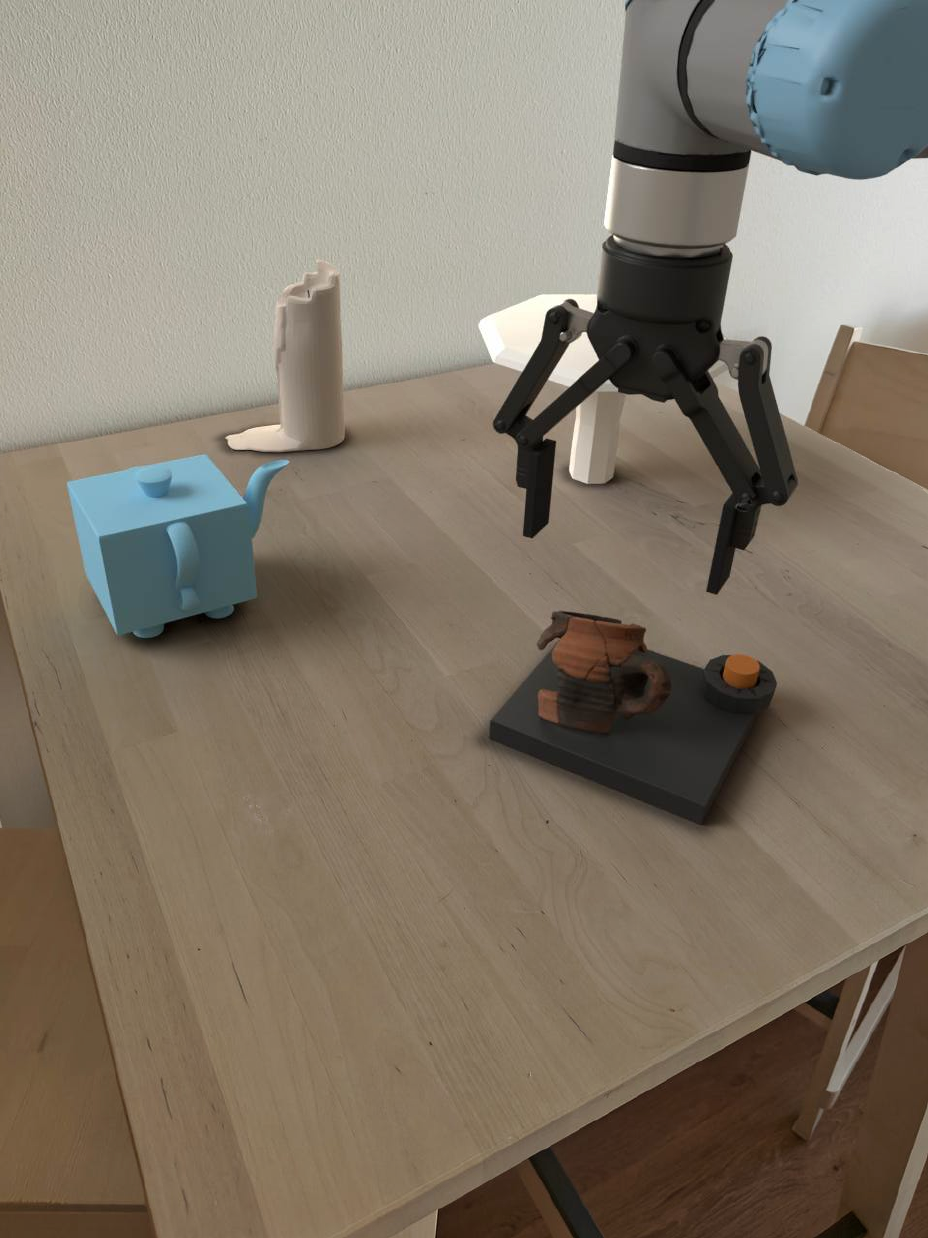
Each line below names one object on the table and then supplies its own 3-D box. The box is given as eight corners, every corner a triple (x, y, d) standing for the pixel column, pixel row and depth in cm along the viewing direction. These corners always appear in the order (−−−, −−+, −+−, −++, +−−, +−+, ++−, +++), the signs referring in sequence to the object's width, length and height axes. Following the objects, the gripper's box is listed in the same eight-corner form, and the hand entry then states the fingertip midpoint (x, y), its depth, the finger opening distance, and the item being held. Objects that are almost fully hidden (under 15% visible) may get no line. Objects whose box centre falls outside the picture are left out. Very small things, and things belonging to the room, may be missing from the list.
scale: (774, 702, 82) (784, 669, 80) (711, 829, 71) (720, 793, 69) (576, 633, 89) (580, 601, 87) (488, 738, 77) (491, 703, 75)
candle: (223, 430, 120) (205, 259, 109) (339, 421, 124) (333, 254, 112) (228, 457, 115) (210, 279, 103) (349, 447, 118) (344, 273, 106)
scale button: (760, 676, 80) (764, 660, 79) (750, 694, 78) (754, 678, 77) (728, 665, 81) (732, 650, 80) (718, 682, 79) (721, 667, 78)
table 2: (707, 556, 101) (739, 399, 91) (438, 511, 106) (442, 358, 97) (722, 441, 123) (750, 305, 114) (499, 409, 128) (508, 276, 119)
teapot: (129, 668, 83) (103, 531, 75) (82, 576, 94) (55, 449, 86) (330, 610, 91) (324, 481, 83) (265, 532, 101) (255, 412, 94)
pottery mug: (500, 710, 78) (517, 605, 77) (570, 707, 85) (587, 610, 84) (631, 751, 70) (652, 634, 69) (697, 743, 77) (716, 638, 77)
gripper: (904, 260, 56) (816, 583, 68) (507, 197, 66) (491, 489, 78) (878, 293, 51) (787, 638, 63) (449, 219, 60) (441, 529, 72)
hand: (623, 556), depth 70 cm, fingers open, 13 cm apart
